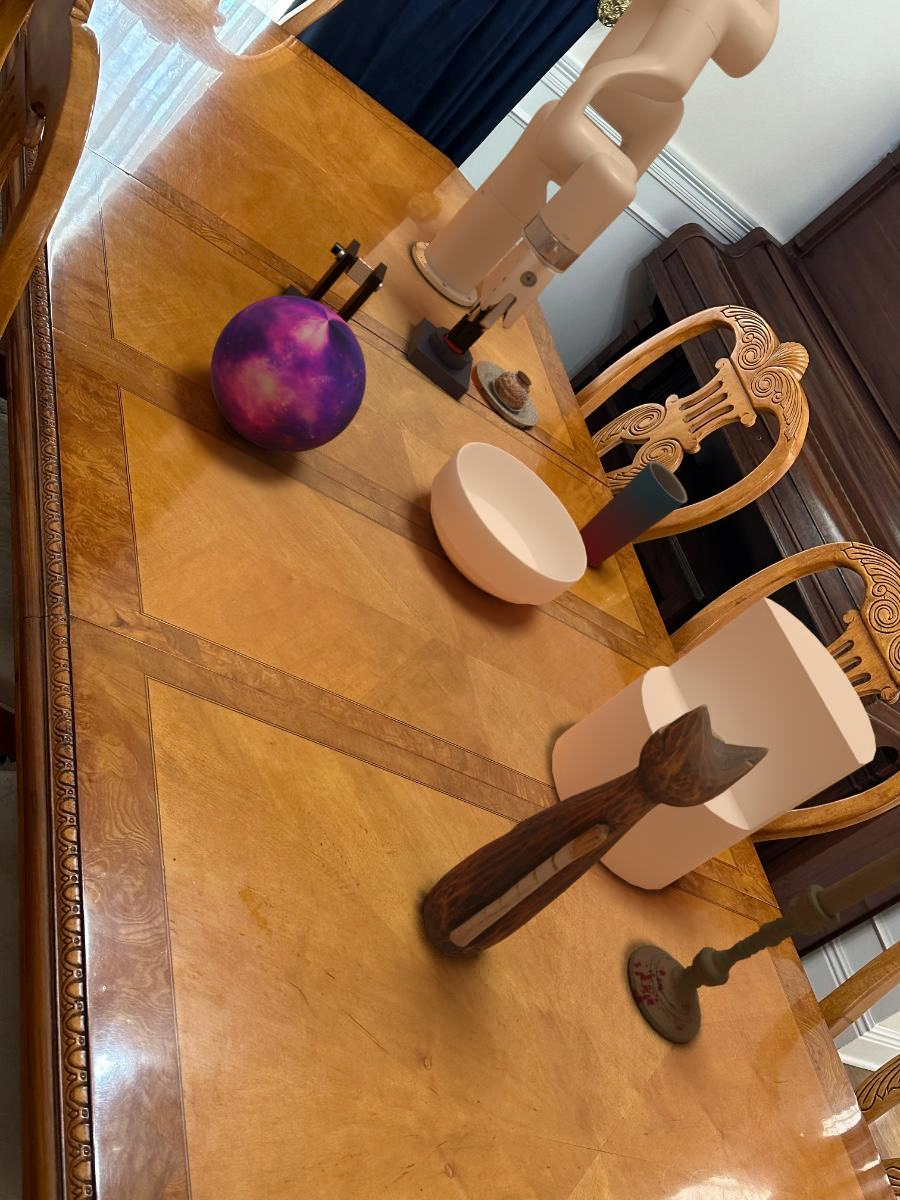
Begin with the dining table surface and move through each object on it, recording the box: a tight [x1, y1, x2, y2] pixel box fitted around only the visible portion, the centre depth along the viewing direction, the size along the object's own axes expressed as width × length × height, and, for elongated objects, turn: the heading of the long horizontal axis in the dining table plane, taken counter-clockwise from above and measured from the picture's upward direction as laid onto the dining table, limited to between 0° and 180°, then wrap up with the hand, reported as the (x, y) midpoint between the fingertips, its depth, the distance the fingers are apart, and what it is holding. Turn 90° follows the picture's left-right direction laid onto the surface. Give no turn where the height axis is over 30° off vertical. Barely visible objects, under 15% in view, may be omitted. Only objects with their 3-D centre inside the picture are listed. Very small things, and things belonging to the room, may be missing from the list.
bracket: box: [282, 238, 389, 324], centre depth 136 cm, size 10×9×12 cm
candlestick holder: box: [628, 846, 900, 1044], centre depth 100 cm, size 9×9×30 cm
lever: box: [329, 241, 374, 287], centre depth 138 cm, size 12×6×2 cm, turn 174°
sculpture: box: [423, 705, 769, 958], centre depth 86 cm, size 7×9×30 cm
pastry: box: [476, 360, 540, 429], centre depth 166 cm, size 12×12×5 cm
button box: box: [406, 316, 474, 401], centre depth 158 cm, size 10×9×4 cm
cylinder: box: [551, 596, 877, 890], centre depth 115 cm, size 19×19×25 cm
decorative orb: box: [210, 295, 367, 454], centre depth 114 cm, size 15×15×15 cm
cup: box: [578, 460, 688, 568], centre depth 151 cm, size 7×7×15 cm
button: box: [444, 334, 463, 354], centre depth 157 cm, size 3×3×2 cm
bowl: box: [430, 441, 588, 606], centre depth 131 cm, size 20×20×8 cm
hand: (455, 343), depth 156 cm, fingers closed
